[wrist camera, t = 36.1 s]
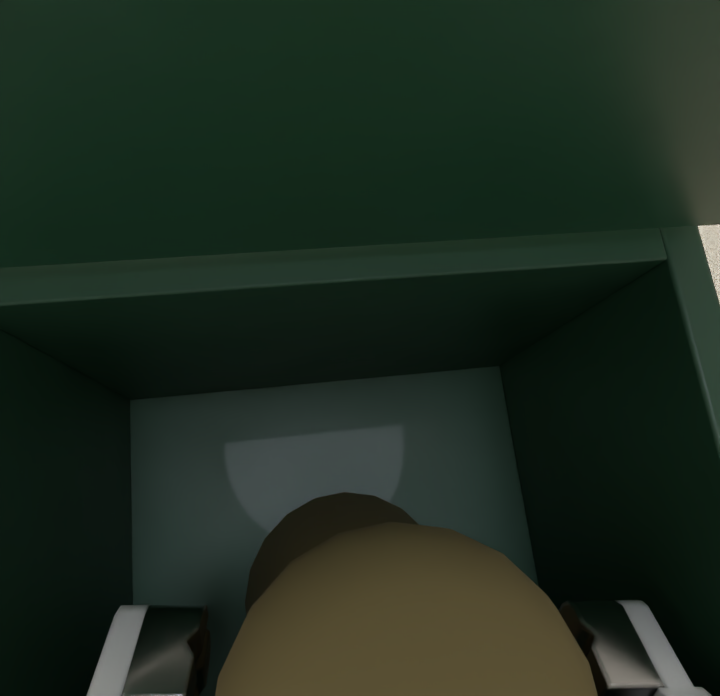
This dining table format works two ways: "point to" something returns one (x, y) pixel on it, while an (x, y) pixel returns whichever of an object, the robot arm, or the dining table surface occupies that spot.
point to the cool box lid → (349, 123)
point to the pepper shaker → (394, 613)
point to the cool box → (356, 426)
